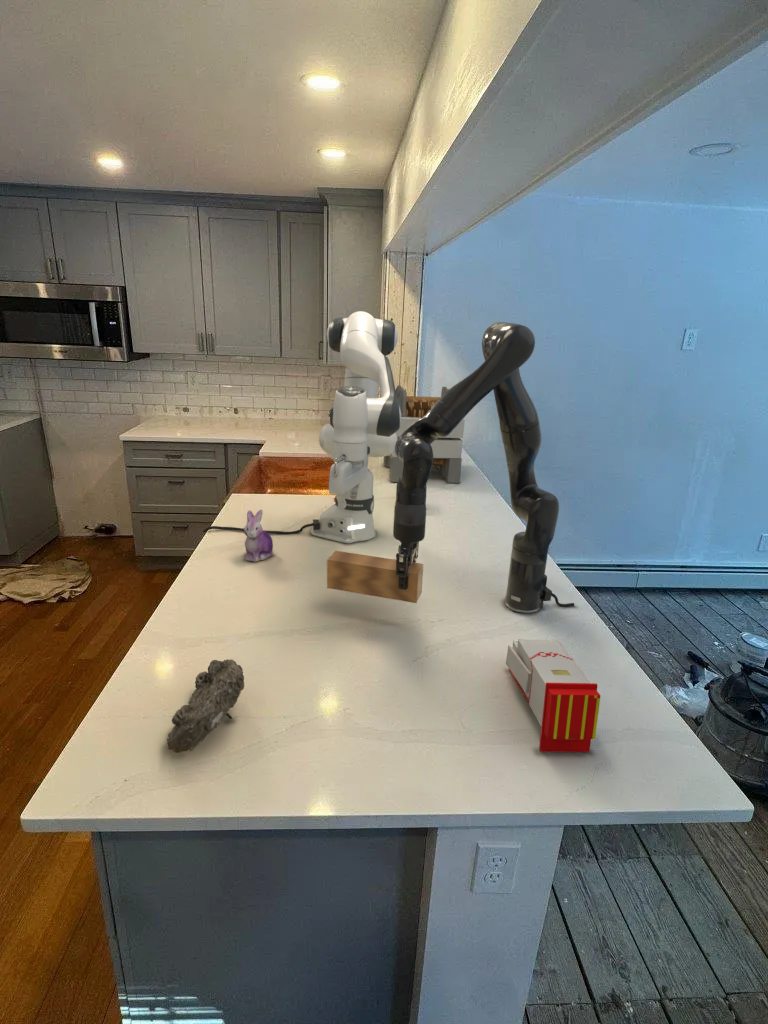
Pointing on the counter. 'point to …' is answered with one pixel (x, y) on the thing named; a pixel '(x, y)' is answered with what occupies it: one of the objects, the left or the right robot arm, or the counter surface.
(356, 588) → the bar
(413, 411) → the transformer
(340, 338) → the left robot arm
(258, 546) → the figurine
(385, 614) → the counter surface
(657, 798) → the counter surface
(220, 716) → the fossil
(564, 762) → the counter surface
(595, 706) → the toy
